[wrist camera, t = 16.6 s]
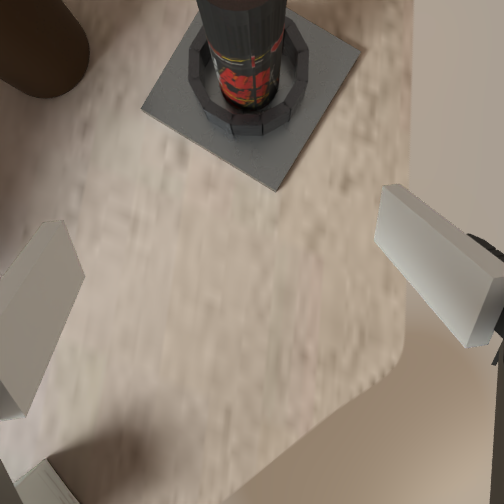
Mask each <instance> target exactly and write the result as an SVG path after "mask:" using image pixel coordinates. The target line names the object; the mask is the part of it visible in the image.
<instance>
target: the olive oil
mask: <svg viewBox="0 0 504 504" xmlns="http://www.w3.org/2000/svg"><path fill="white" fill-rule="evenodd" d="M88 61H89V44H88V40H87V37H86V34H85V32H84V30H83V28H82V27H81V25H80V24H79V22H78V21H77V20H76V19H75V17H74V16H73V15H72V13H71V12H70V11H69V9H68V8H67V7H66V6H65V4H64V3H63V2H62V0H0V79H2V80H3V81H5V82H7V83H8V84H10V85H12V86H13V87H15V88H17V89H18V90H20V91H22V92H24V93H26V94H28V95H31V96H34V97H38V98H52V97H57V96H60V95H62V94H64V93H66V92H68V91H70V90H71V89H72V88H73V87H75V86H76V85H77V84H78V82H79V81H80V80H81V78H82V77H83V75H84V73H85V71H86V69H87V66H88Z"/></svg>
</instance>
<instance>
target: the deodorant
mask: <svg viewBox="0 0 504 504" xmlns="http://www.w3.org/2000/svg"><path fill="white" fill-rule="evenodd" d="M196 1H197V4H198V8H199V12H200V15H201V19H202V23H203V26H204V30H205V34H206V37H207V41H208V45H209V48H210V52H211V56H212V59H213V63H214V67H215V70H216V74H217V78H218V81H219V85H220V89H221V92H222V95H223V96H224V98H225V99H226V101H227V102H228V103H229V104H230V105H231V106H233V107H234V108H237V109H239V110H242V111H256V110H259V109H262V108H264V107H265V106H267V105H268V104H269V103H270V102H271V101H272V100H273V99H274V97H275V95H276V93H277V91H278V86H279V78H280V68H281V57H282V46H283V35H284V24H285V14H286V3H287V0H196Z"/></svg>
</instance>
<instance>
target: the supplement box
mask: <svg viewBox="0 0 504 504" xmlns="http://www.w3.org/2000/svg"><path fill="white" fill-rule="evenodd" d="M13 485H14V487H15V489H16V491H17V492H18V494H19V496H20V498H21V500H22V502H23V504H80V503H79V502H78V501H77V500H76V498H75V497H74V496H73V495H72V493H71V492H70V491H69V489H68V488H67V487H66V485H65V484H64V483H63V481H62V480H61V479H60V477H59V476H58V475H57V473H56V472H55V471H54V469H53V468H52V466H51V465H50V463H49V462H48V461H47V459H44V460H43V461H42V462H41V463H39V464H38V465H37V466H36V467H34V468H33V469H32V470H30V471H29V472H28V473H27V474H25V475H24V476H23V477H22V478H20V479H19V480H18V481H16V482H15V483H14V484H13Z"/></svg>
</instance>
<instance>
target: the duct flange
mask: <svg viewBox="0 0 504 504" xmlns="http://www.w3.org/2000/svg"><path fill="white" fill-rule="evenodd" d="M360 53H361V51H359V50H357V49H356V48H354V47H352V46H351V45H349V44H347V43H346V42H344V41H342V40H341V39H339V38H337V37H335V36H334V35H332V34H330V33H329V32H327V31H325V30H324V29H322V28H320V27H319V26H317V25H315V24H313V23H312V22H310V21H308V20H307V19H305V18H303V17H302V16H300V15H298V14H297V13H295V12H293V11H292V10H290V9H288V8H286V14H285V24H284V35H283V46H282V57H281V68H280V78H279V86H278V91H277V93H276V95H275V97H274V99H273V100H272V101H271V102H270V103H269V104H268V105H267V106H265V107H264V108H262V109H259V110H256V111H242V110H239V109H237V108H234V107H233V106H231V105H230V104H229V103H228V102H227V101H226V99H225V98H224V96H223V95H222V92H221V89H220V85H219V81H218V78H217V74H216V70H215V67H214V63H213V59H212V56H211V52H210V48H209V45H208V41H207V37H206V34H205V30H204V26H203V23H202V19H201V15H200V12H199V11H198V13H197V15H196V16H195V18H194V20H193V21H192V23H191V25H190V26H189V28H188V30H187V32H186V33H185V35H184V37H183V38H182V40H181V42H180V43H179V45H178V47H177V48H176V50H175V52H174V53H173V55H172V57H171V58H170V60H169V62H168V64H167V65H166V67H165V69H164V70H163V72H162V74H161V75H160V77H159V79H158V80H157V82H156V84H155V85H154V87H153V89H152V90H151V92H150V94H149V96H148V97H147V99H146V101H145V102H144V104H143V106H142V107H141V109H142V111H143V112H144V113H146V114H148V115H149V116H151V117H153V118H154V119H156V120H157V121H159V122H161V123H162V124H164V125H166V126H167V127H169V128H171V129H172V130H174V131H176V132H177V133H179V134H180V135H182V136H184V137H185V138H187V139H189V140H190V141H192V142H194V143H195V144H197V145H199V146H200V147H202V148H204V149H205V150H207V151H208V152H210V153H212V154H213V155H215V156H217V157H218V158H220V159H222V160H223V161H225V162H227V163H228V164H230V165H232V166H233V167H235V168H236V169H238V170H240V171H241V172H243V173H245V174H246V175H248V176H250V177H251V178H253V179H255V180H256V181H258V182H260V183H261V184H263V185H264V186H266V187H268V188H269V189H271V190H273V191H274V192H276V191H277V189H278V188H279V186H280V184H281V183H282V181H283V179H284V178H285V176H286V175H287V173H288V171H289V170H290V168H291V166H292V165H293V163H294V161H295V160H296V158H297V157H298V155H299V153H300V152H301V150H302V148H303V147H304V145H305V143H306V142H307V140H308V139H309V137H310V135H311V134H312V132H313V130H314V129H315V127H316V125H317V124H318V122H319V121H320V119H321V117H322V116H323V114H324V112H325V111H326V109H327V107H328V106H329V104H330V103H331V101H332V99H333V98H334V96H335V94H336V93H337V91H338V90H339V88H340V86H341V85H342V83H343V81H344V80H345V78H346V76H347V75H348V73H349V72H350V70H351V68H352V67H353V65H354V63H355V62H356V60H357V58H358V57H359V55H360Z"/></svg>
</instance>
